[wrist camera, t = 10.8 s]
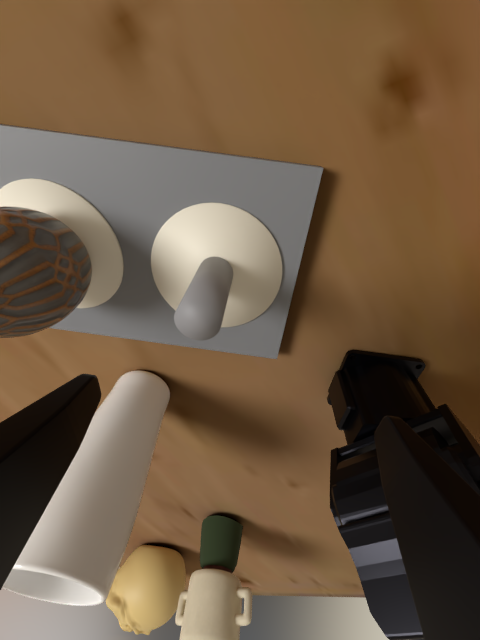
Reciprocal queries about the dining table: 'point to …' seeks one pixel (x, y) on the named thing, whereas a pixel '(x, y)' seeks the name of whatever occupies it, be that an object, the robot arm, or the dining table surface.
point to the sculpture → (147, 588)
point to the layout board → (170, 235)
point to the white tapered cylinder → (95, 500)
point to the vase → (38, 271)
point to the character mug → (215, 586)
